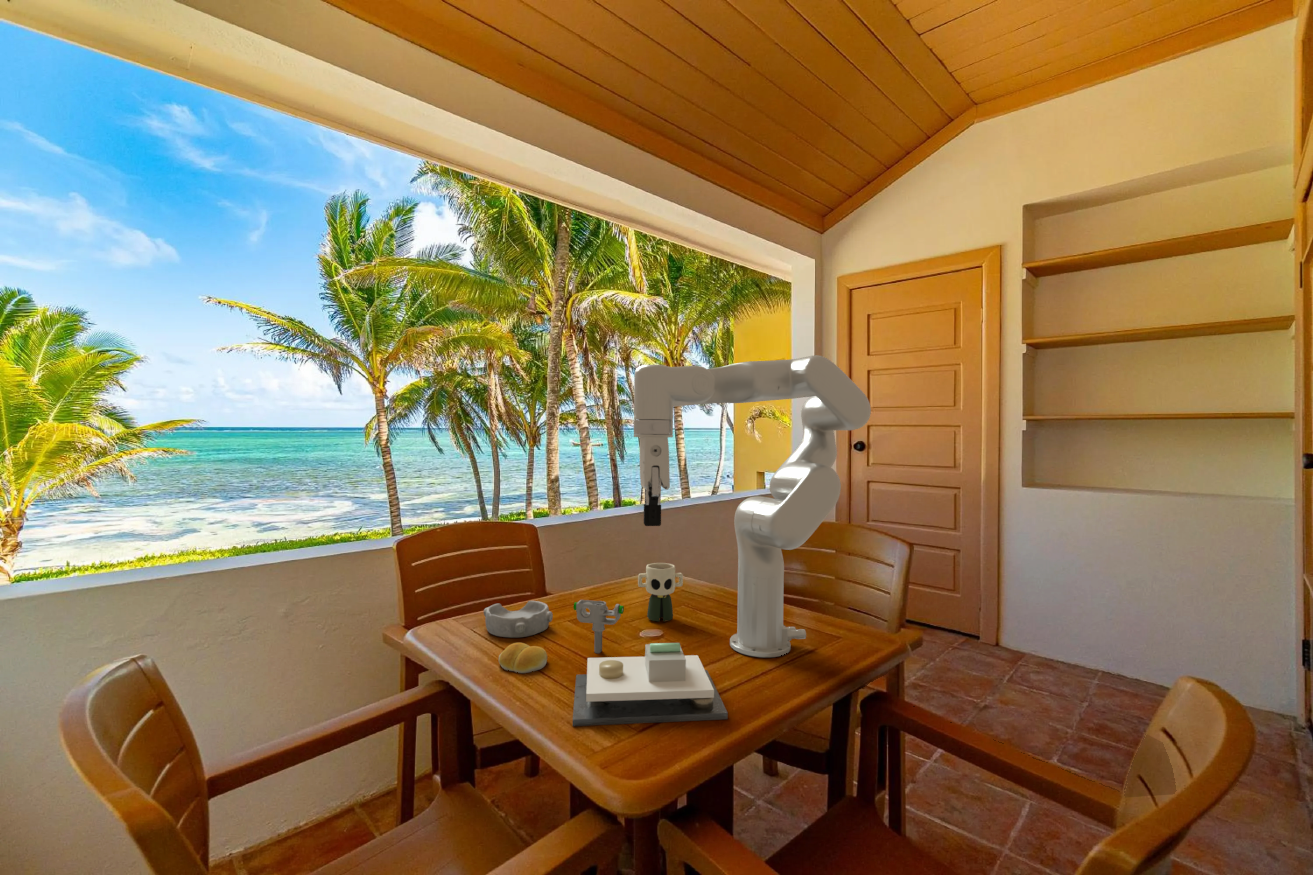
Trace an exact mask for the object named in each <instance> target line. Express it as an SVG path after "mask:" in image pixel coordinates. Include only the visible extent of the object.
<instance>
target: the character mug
mask: <svg viewBox="0 0 1313 875" xmlns="http://www.w3.org/2000/svg"><path fill="white" fill-rule="evenodd" d="M643 578H645V582H643ZM676 578H678V582H676ZM637 584H638V585H637V586H638V588H645V590H646V592H647V593H649V594H650V596H649V601H648V606H647V607H648V608H647V615H646V616H647V618H648V620H650V621H653V622H660V621H661V619H663V622H668V621H669V622H670V621H671V620H672V619H673V618H674V612H673V611H674V610H673V601H672V597H671V594H673V593H674V592H675V590H676V588H677V587H683V584H684V575H683V573H682V572H676V565H675V564H673V563H668V562H667V563H666V562H653V563H648V564H646V566H645V572H643V573H638V576H637Z"/></svg>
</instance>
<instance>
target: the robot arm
mask: <svg viewBox="0 0 1313 875" xmlns="http://www.w3.org/2000/svg"><path fill="white" fill-rule="evenodd" d="M633 378H634V379H633V380H634V381H633V382H634V383H633V384H634V385H633V386H634V387H633V389H634V391H633V392H634V393H633V395H634V397H633V398H634V399H633V438H639V477H640V478H639V479H640V486H641V487H642V488H643V489H644V504H643V525H644V526H645V527H660V526H661V525H662V504H661V501H662V500H661V499H662V488H663V489H664V490H666V491H667V490H669V489H670V488H671V486H670V484H671V481H670V480H671V479H670V478H671V476H670V446H669V438H673V437H674V435H673V434H674V432H673V431H674V424H673V423H674V407H684V406H697V405H709V404H744V403H745V404H746V403H756V402H758V403H759V402H768V401H780V400H793V399H800V398H807V399H806V400H805V401H804V403H803V405H802V407H801V410H800V412H801V413H800V417H801V423H802V424H801V425H802V438H801V441H800V442H799V444H798V446H797V447H796V448H795V449H794V451H792V453H791V454H790V455H788V457H787V459H786V460H785V461H783V463H781V465H780V466H779V468H777V470H776V471H775V472H774V474H773V475H772V476H771V478H770V481H769V492H770V494H771V496H772V497H766V496H756V495H755V496H751V497H747V498H746V499H744V500H743V501H741V502H740V503H739V504H738V506H737V507H736V510H735V513H734V518H733V519H734V521H733V524H734V531H735V538H736V544H737V561H738V562H737V566H738V567H737V618H736V619H737V621H736V623H737V629H736V630H737V632H736V633H734V634H733V635H731V637H730V638H729V646H730V648H731V649H733V651H736V652H737V653H739V654H742V655H745V656H749V657H755V658H776V657H781V655H782V656H785V655H787V654H788V653H789V652H791V649H792V648H791V642H790V641H792V640H793V639H796V640H804V639H807V632H806V629H803V628H799V629H797V628H796V626H786V625H784V587H785V586H784V585H785V584H784V583H785V582H784V579H785V578H784V576H785V575H784V574H785V563H784V555H783V551H782V550H787V551H788V550H789V551H791V550H795V549H797V548H799V547H801V546H802V545H803V544H805V543H806V541H808V539H810V537H811V536H812V535H813V534H814V533H815V531H817V530H818V528H819V526H820V525H821V524H822V523H823V522H824V521H825V519H826V518H827V517H828V515H829V514H830V513H831V512H832V510H833V509H834V508H835V506H836V505H837V503H838V501H839V498H840V496H841V490H842V488H841V487H842V486H841V485H842V484H841V479H840V476H839V475H838V473H837V471H836V470H835V469H833V468H832V467H833V466H834V464H835V462H836V459H837V456H838V450H837V443H836V438H835V431H855V430H858V429H861V428H863V427H864V426H865V425H866V424H867V423H868V422H869V420H870V417H871V414H872V413H871V412H872V410H871V409H872V408H871V403H870V401H869V398H868V397H867V396H866V394H865V392H864V391H863V390H862V389H861V388H860V387H859V386H858V385H857V384H856V383H855V382H854V381H853V380H852V379H851V378H850V377H849V376H848V375H847V374H846V373H845V372H844V371H843V370H842V369H841V368H840V367H839V366H837V364H835V363H834V362H833V361H831V360H830V359H829V358H827V357H826V356H823V355H819V354H818V355H816V354H815V355H810V356H806V357H805V356H804V357H799V358H791V359H778V360H777V359H776V360H757V361H756V360H754V361H751V360H750V361H743V362H742V361H741V362H737V363H731V364H728V365H724V366H719V367H712V368H706V367H704V366H700V365H686V366H685V365H684V366H668V365H664V364H644V365H640V366H637V367H636V369H635V371H634V377H633ZM786 653H787V654H786ZM784 654H785V655H784Z"/></svg>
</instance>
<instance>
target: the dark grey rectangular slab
mask: <svg viewBox="0 0 1313 875" xmlns="http://www.w3.org/2000/svg"><path fill="white" fill-rule="evenodd" d="M704 670H705V672H706V674H707V676H708V678H709V680H710V682H711V685H712V687H713V689H714V698H685V699H654V700H624V701H593V702H586V690H587V673H586V674H585V673H584V674H576V676H575V686H574V687H575V688H574V697H573V700H574V701H573V708H572V709H573V711H572V727H583V726H584V727H586V726H608V725H629V724H631V725H632V724H633V725H634V724H651V723H652V724H653V723H670V722H671V723H673V722H674V723H676V722H694V721H695V722H699V721H716V720H718V721H719V720H728V716H729V714H728V710H727V709H726V707H725V704H724V702H723V700H722V698H721V696H720V694H719V692H718V690H717V687H716V686H715V684H714V681H713V679H712V677H711V675H710V674H709V670H708V669H704Z"/></svg>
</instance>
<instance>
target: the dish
mask: <svg viewBox="0 0 1313 875" xmlns="http://www.w3.org/2000/svg"><path fill="white" fill-rule="evenodd" d="M483 615H484V617H485V628H486V630H487V632H488V633H489V634H491V635H493V636H496V637H501V638H502V637H503V638H525V637H530V636H533V635H537V634H539V633H541V632H544V631H545V630H547V629H548V627H549V624H550V623H551V622H552V621H553V617H554V616H553V612H552V611H550V609H549V606H548V604H547V603H545V602H542V601H539V600H537V601H536V600H528V601H527V603H526V604H525V605H524V606H523V607H522V608H520V609H518V610H508V609H507V608H506V607H504V606H502V604H501V603H494V604H492V605H490V606H488V607H485V608H484V609H483Z"/></svg>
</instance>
